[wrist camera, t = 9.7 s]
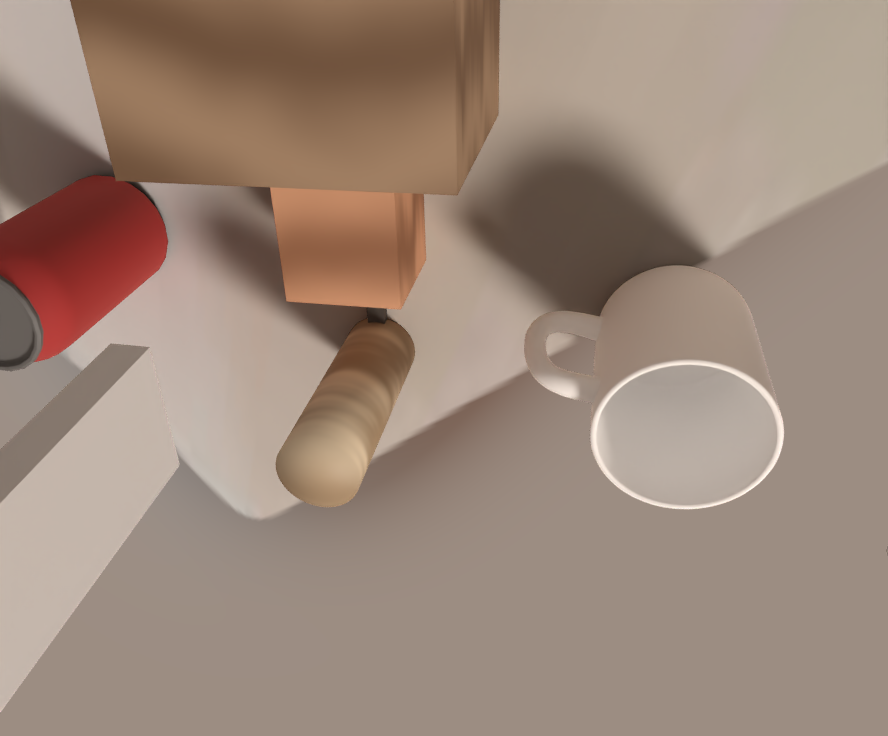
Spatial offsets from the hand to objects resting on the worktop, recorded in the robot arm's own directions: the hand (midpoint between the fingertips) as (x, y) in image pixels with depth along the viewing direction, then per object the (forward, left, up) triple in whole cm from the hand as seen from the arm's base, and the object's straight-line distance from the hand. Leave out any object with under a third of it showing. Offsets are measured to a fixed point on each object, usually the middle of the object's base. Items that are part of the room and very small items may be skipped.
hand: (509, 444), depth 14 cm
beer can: (+9, -26, -29) cm, 40 cm away
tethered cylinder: (+11, -11, -29) cm, 33 cm away
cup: (+13, +4, -29) cm, 32 cm away
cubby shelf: (-3, -11, -29) cm, 31 cm away
